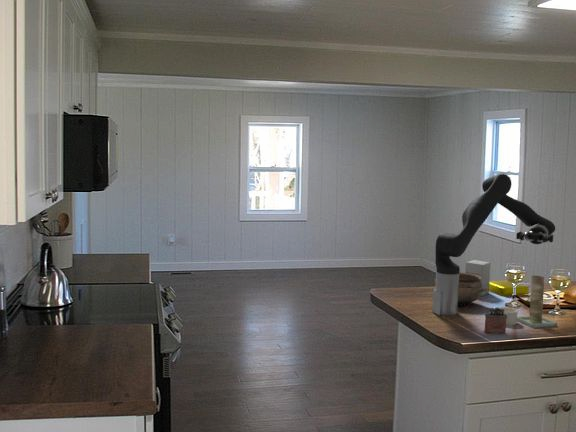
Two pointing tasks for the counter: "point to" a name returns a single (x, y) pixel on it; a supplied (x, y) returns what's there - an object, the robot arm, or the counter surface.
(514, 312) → the crock
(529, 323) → the tray
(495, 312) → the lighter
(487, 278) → the supplement box
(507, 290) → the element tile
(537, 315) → the pestle
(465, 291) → the brown wooden bowl
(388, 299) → the counter surface
